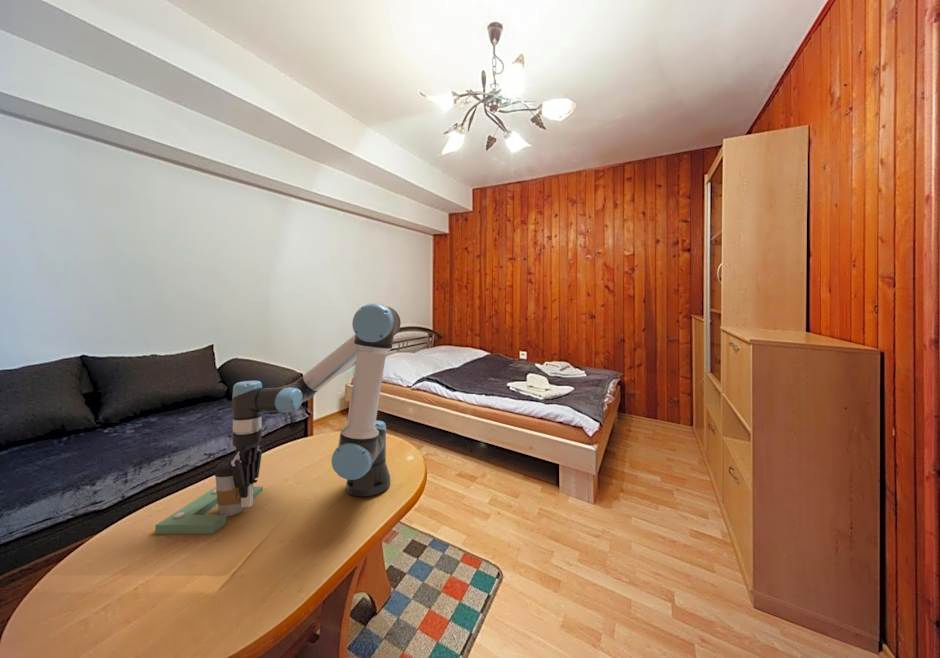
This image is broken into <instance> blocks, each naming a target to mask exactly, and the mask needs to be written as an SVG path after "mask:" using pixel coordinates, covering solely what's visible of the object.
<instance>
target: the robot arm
mask: <svg viewBox="0 0 940 658" xmlns="http://www.w3.org/2000/svg"><path fill="white" fill-rule="evenodd" d="M401 323H402V322H401V318H400V315H399V314H398V311H396V310H395V309H394V308H392V307H390V306H387V305H384V304H381V303H369V304H368V303H367V304H364V305H363V306H361V307H360V308H358V309H357V311H356V312H355V313H354V315H353V318H352V325H351V326H352V330H353V333H354V335H352V336H351V337H350V338H348V339H347V340H345V342H344V343H341V345H340V346H339V347H337V348H336V349H335V350H333V351H332V352H331V353H330V354H328V355H327V356H326V357H325V358H324V359H322V360H321V361H319V362H318V363H317V364H316V365H315V366H313V367H312V368H311V369H310V370H308V371H307V372H305V373H304V374H303V375H302V376H300V378H298V379H297V380H296V381H294V382H292V383H289V384H287V385H283V386H279V387H263V383H262V382H261V381H259V380H244V381H239V382H236V383H235V384H234V385H233V387H232V397H231V399H232V402H231V403H232V432H233V433H232V438H231V439H232V446H234V447H235V453H234V458H233V459H230V460H228V461H229V465H230V467H231V470H232V475H233V480H234V486H235V488H241V507H243V508H250V507H251V506H253V505H254V499H253V487H254V484H256V483H257V482H258V478H259V476H260V469H261V461H262V454H263V451H264V447H265V446H264V445H260V444H259V443H260V442H261V441H262V427H263V426H262V425H263V424H262V421H263V420H262V413H282V414H283V413H284V414H285V413H292V412H293V413H295V412H297V411H298V410H299V409H300V408H301V406H302V403H305V402H307V401H309V400H310V399H312V398H313V397H314V396H315V395H316V393H317V392H319V391H320V390H322V389H323V388H324V387H325V386H326V385H327V384H329V383H330V382H331V381H333V380H334V379H335V378H336V377H338V376H339V375H340V374H342V372H344V371H346V370H347V369H348V368H349V367H351V365H353V364H354V363H355V362H356V363H355V367H354V368H355V369H354V375H353V376H354V377H353V381H352V382H353V383H352V387H351V388H352V389H351V396H350V402H349V407H348V408H349V409H348V415H347V421H346V425H345V426H343V428H341V429H340V433H339V440H338V446H337V448H335V449H334V451H333V453H332V456H331V461H330V462H331V467H332V469H333V472H335V473H336V474H337V475H338V477H340V478H342V479H345V480H346V482H345V483H346V484H345V485H346V486H345V487H346V488H345V489H346V490H345V491H346V492H347V493H348V494H350V495H351V496H355V497H369V496H375V495H377V494H380V493H382V492H385V491H386V490H387V489H389V487H390V486H391V474H390V472H389V468H388V465H387V462H386V456H387V455H386V454H387V451H386V450H387V449H386V448H387V447H386V446H387V443H386V442H387V425H386V423H385V422H384V421H382V420H377V417H378V416H377V415H378V409H379V402H380V395H381V389H382V383H383V376H384V369H385V363H386V362H385V361H386V355H387V354H388V353H389V352H390V351H391V350H392V348H393V344H394V343H393V342H394V337H395V336H396V335H397V334H398V332H399V330H400V329H401Z"/></svg>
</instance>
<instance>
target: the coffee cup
mask: <svg viewBox="0 0 940 658" xmlns="http://www.w3.org/2000/svg"><path fill="white" fill-rule="evenodd" d="M229 461H230V460H225V462H224V461H223V462H221V463H219V464H218V465H217V466H216V468H215V470H214V476H215V487H216V492H217V503H218V504H217V510H218V512H217V513H218V515H226V518H228V517H232V516H235V515H238V514H239V513H240V512H242V511H243V509H244V507H241V488H235V486H234V480H233V475H232V470H231V467H230V465H229Z"/></svg>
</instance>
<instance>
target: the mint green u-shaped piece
mask: <svg viewBox="0 0 940 658" xmlns="http://www.w3.org/2000/svg"><path fill="white" fill-rule="evenodd" d="M262 491H264V487H263V486H253V500H255V498H256V497H258V495H260V494H261V493H262ZM215 506H218V503H217V492H216V486H215V487H213V488H212V489H210V490H209V491H207V492H206V493H204V494H202V495H201V496H199V497H198V498H196V499H195V500H193V501H191V502H189V503H188V504H186V505H185V506H183V507H182V508H180V509H178V510H177V511H176V512H174V513H172V514H171V515H169V516H168V517H166V518H164V519H163V520H161V521H160V522H158V523H156V524H155V535H213V534H216V532H217V531H219V530H220V529H222V527H224V526H225V525H226V524H227V517H226V515H220V514H207V513H208V512H210V511H211V509H213V508H215Z"/></svg>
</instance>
